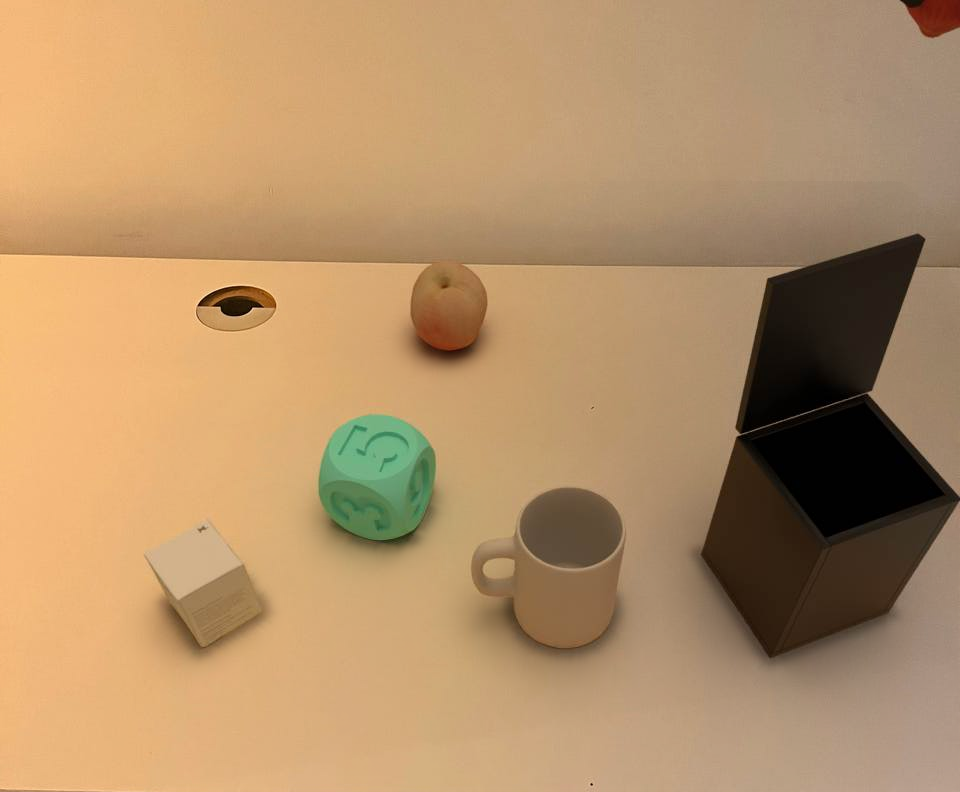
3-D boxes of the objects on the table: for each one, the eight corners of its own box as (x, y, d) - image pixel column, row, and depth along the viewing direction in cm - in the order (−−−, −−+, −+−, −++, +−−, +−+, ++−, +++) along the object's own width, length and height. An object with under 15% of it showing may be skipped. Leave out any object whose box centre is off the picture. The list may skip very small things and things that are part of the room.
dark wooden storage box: (888, 613, 79) (961, 498, 67) (769, 658, 77) (822, 549, 65) (813, 514, 85) (867, 392, 72) (700, 554, 83) (736, 435, 70)
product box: (168, 602, 81) (140, 551, 75) (229, 567, 83) (207, 515, 77) (202, 650, 79) (176, 601, 72) (264, 613, 81) (245, 562, 74)
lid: (926, 238, 62) (918, 232, 62) (773, 284, 60) (766, 277, 60) (872, 391, 72) (866, 385, 72) (740, 434, 70) (734, 428, 70)
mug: (606, 564, 82) (619, 481, 73) (618, 647, 78) (634, 569, 69) (471, 571, 82) (466, 489, 73) (475, 654, 78) (471, 577, 69)
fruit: (397, 347, 98) (389, 282, 91) (439, 303, 101) (434, 237, 95) (461, 374, 95) (459, 309, 89) (502, 328, 99) (502, 263, 92)
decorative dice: (360, 465, 89) (349, 403, 82) (439, 486, 88) (433, 424, 81) (325, 528, 85) (310, 468, 78) (407, 551, 84) (398, 492, 77)
